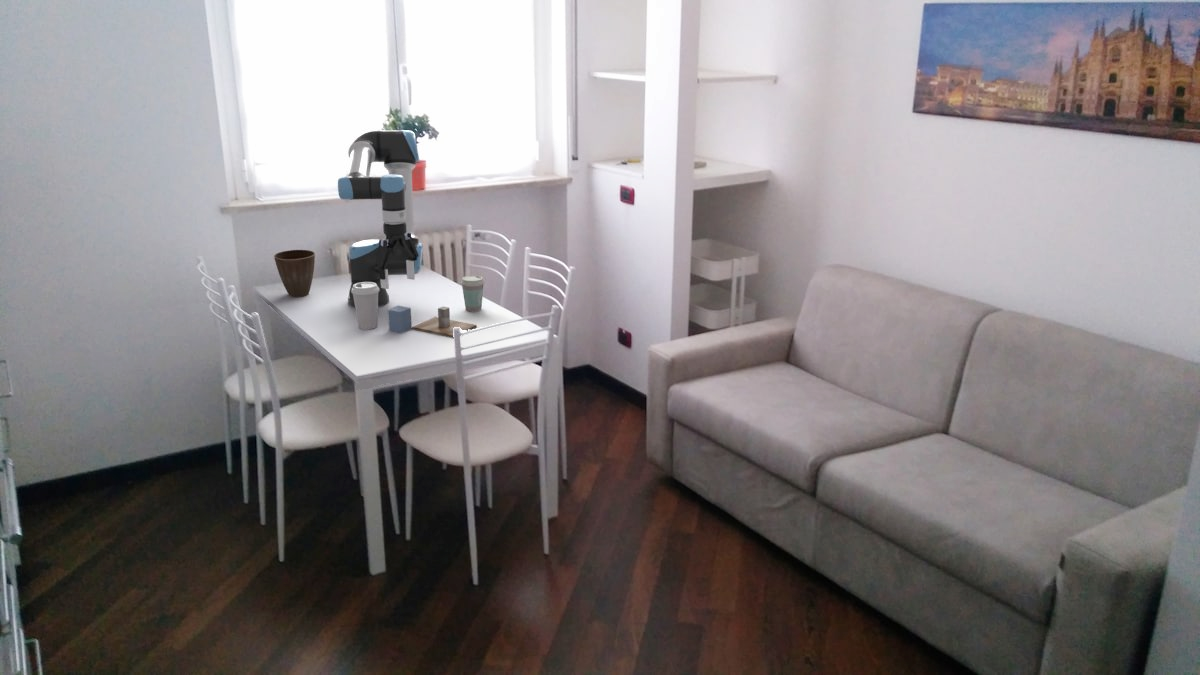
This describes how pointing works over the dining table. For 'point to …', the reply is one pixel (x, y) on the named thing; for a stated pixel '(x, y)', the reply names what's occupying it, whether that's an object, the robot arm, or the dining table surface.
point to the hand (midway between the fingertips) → (398, 283)
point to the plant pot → (296, 271)
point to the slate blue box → (399, 319)
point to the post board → (442, 330)
